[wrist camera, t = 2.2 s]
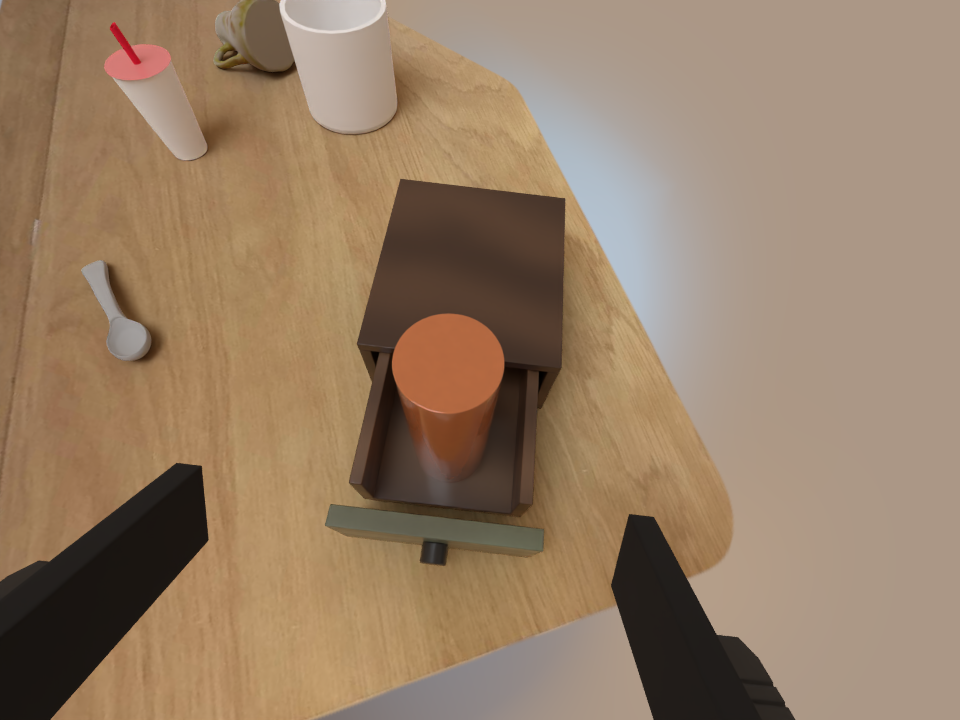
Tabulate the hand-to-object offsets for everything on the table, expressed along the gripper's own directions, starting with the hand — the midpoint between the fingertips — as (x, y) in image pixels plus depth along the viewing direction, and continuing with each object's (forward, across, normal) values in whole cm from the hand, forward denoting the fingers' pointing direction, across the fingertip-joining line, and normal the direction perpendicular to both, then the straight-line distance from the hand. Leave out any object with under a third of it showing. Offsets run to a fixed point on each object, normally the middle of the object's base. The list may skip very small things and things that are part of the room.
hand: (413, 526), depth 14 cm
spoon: (+25, -29, -2) cm, 39 cm away
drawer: (+18, 0, -8) cm, 20 cm away
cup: (+40, -31, +12) cm, 52 cm away
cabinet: (+27, 0, 0) cm, 27 cm away
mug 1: (+51, -30, +24) cm, 64 cm away
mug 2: (+48, -17, +20) cm, 54 cm away
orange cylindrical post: (+17, 0, -7) cm, 18 cm away
